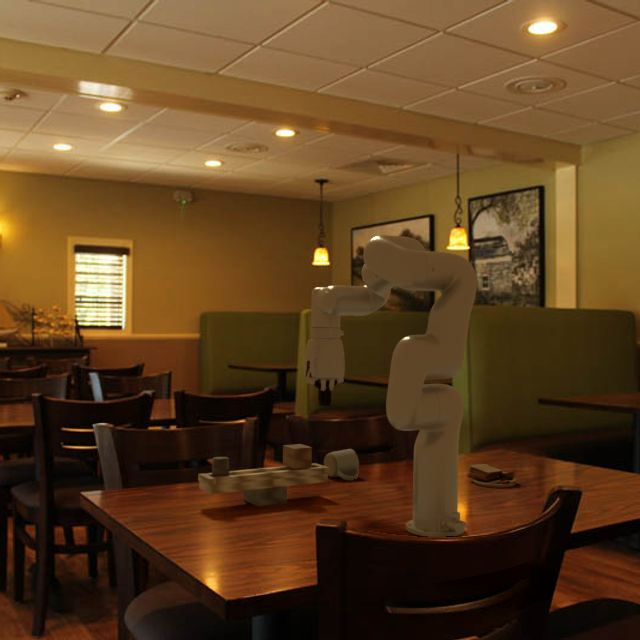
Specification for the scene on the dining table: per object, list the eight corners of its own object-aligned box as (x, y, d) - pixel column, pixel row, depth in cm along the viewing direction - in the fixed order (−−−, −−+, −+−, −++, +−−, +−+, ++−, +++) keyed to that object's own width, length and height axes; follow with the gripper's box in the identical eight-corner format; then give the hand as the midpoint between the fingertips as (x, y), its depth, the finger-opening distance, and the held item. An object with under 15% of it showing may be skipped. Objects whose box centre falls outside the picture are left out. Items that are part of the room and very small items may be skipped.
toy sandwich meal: (494, 490, 218) (494, 473, 218) (460, 482, 229) (460, 465, 229) (527, 486, 225) (527, 468, 225) (492, 477, 236) (492, 461, 236)
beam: (313, 491, 213) (314, 447, 213) (329, 497, 206) (330, 452, 206) (197, 505, 196) (197, 457, 196) (210, 512, 189) (210, 462, 189)
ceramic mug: (321, 475, 235) (322, 449, 235) (345, 472, 239) (345, 446, 239) (341, 482, 226) (342, 455, 226) (365, 479, 230) (366, 452, 230)
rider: (299, 470, 209) (300, 444, 209) (311, 474, 204) (311, 447, 204) (282, 472, 207) (283, 445, 207) (294, 476, 202) (294, 448, 202)
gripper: (342, 334, 217) (341, 403, 217) (293, 334, 209) (292, 405, 209) (357, 335, 210) (356, 405, 210) (307, 335, 202) (306, 408, 203)
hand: (324, 405), depth 210 cm, fingers closed
